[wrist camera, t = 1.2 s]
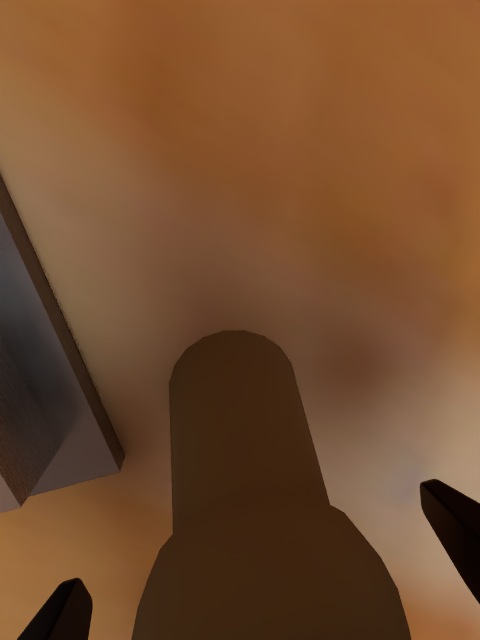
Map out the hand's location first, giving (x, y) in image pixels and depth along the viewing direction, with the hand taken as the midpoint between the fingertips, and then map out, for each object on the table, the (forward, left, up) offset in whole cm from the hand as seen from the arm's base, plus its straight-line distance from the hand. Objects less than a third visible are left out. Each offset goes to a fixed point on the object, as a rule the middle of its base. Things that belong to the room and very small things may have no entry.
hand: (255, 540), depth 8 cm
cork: (0, 0, -8) cm, 8 cm away
